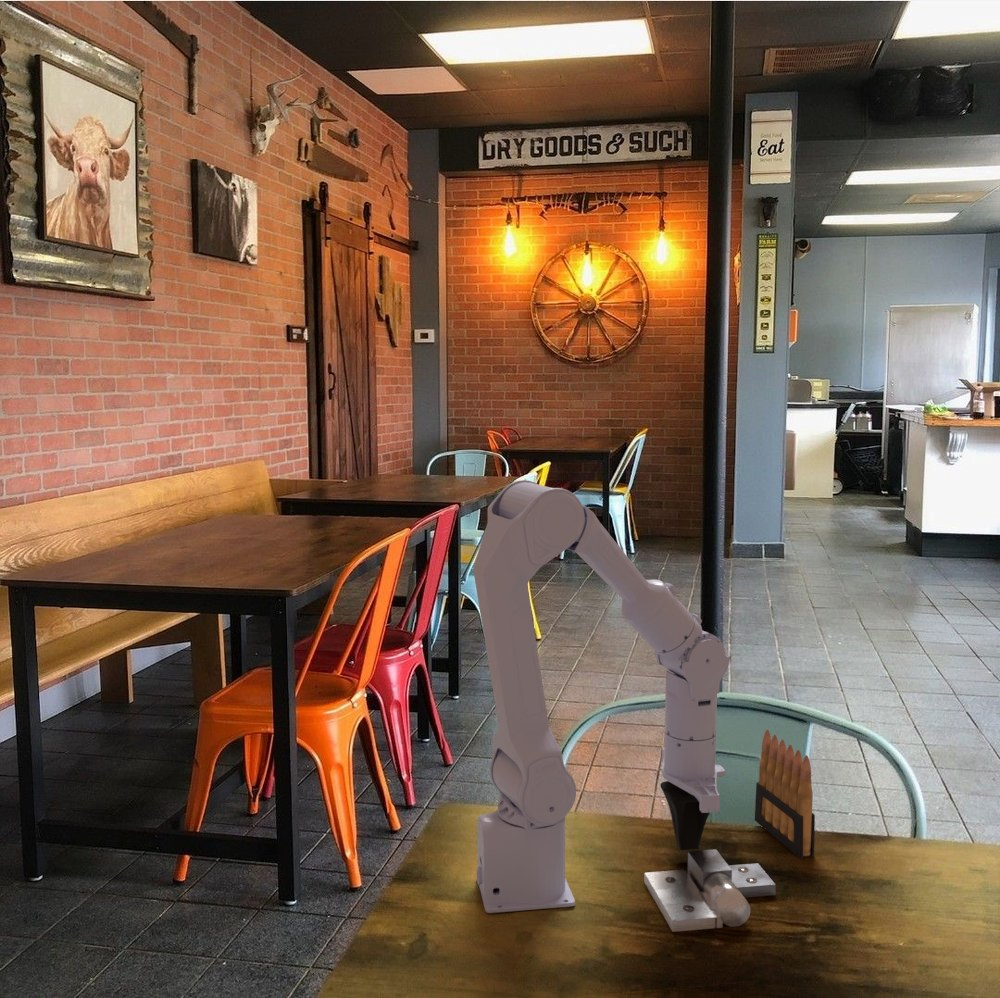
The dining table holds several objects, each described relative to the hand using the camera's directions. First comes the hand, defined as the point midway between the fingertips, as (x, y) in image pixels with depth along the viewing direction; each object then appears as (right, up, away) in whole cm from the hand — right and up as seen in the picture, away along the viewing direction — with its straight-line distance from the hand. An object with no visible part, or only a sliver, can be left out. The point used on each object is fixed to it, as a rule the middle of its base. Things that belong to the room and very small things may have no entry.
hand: (687, 846), depth 117 cm
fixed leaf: (-1, -3, -10) cm, 10 cm away
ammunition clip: (+12, -1, +5) cm, 14 cm away
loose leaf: (+4, -2, -6) cm, 8 cm away
